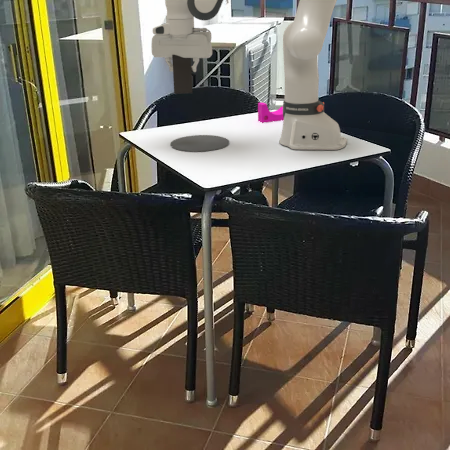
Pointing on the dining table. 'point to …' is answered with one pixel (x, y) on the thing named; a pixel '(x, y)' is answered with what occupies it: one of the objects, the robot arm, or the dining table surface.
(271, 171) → the dining table surface
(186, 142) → the mat
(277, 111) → the toy block
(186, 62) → the phone stand
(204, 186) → the dining table surface
